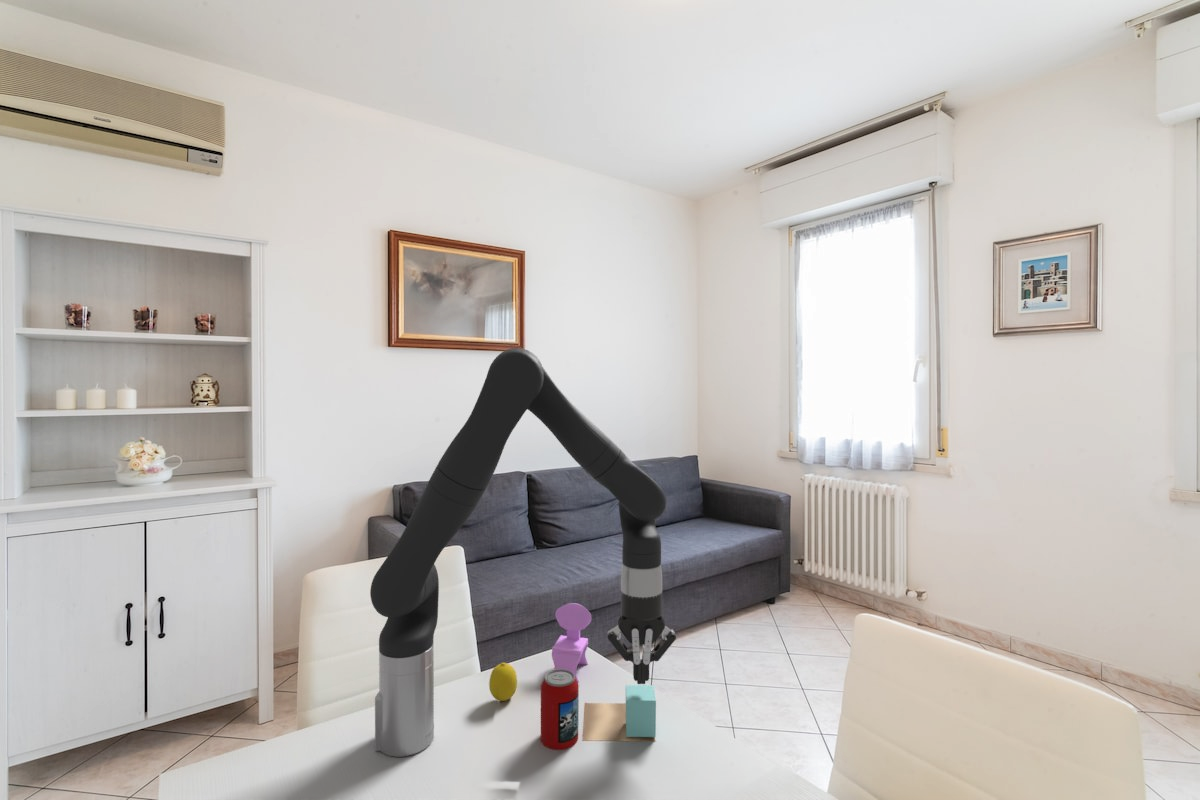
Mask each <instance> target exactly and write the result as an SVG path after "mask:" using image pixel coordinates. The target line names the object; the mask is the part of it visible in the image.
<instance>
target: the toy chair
mask: <svg viewBox="0 0 1200 800" xmlns="http://www.w3.org/2000/svg"><path fill="white" fill-rule="evenodd" d="M555 619H556V621H557V623H558V624H559V627H561V628H562V629H564V630H565V631H566V635H562V634H560V636H559V637H558V639H557V640H556V642H555V643H554V644H553V646H552V648H551V658H552V661H553V665H554V666H553V667H554V670H557V669H565V670H569V671H571V672H572V673H573V674H574V675H575V679H576V680H577V682H578V683H579V682H580V681H579V679H578V676H577V668H578V665H586V666H588V665H589V663H588V660H587V658H586V651H587V649H588V646H589V638H587V637H581V631H583V630H585V629H586V627H588V626H589V624H590V623H591V622H592V614H591V612H590V611H589V610H588V609H587V608H586V607H585V606H583V605H581V604H580V603H576V602H574V603H573V602H571V603H566V604H564V605H561V606H560V607H558V608H557V609H556V611H555Z"/></svg>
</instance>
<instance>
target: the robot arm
mask: <svg viewBox="0 0 1200 800" xmlns="http://www.w3.org/2000/svg"><path fill="white" fill-rule="evenodd" d="M527 410H528V411H529V412H531V413H532V414H533V415H534V416H535V417H536V418H537V419H539V421H541V423H542V424H543V425H544V426H545V427H546V428H547V429H548V430H549V431H550V432H551V434H552V435H553V436H554V437H555V438H556V439H557V441H558V442H559V443H560V445H561V446H562V447H563V448H564V449H565V451H566V452H567V453H568V454H569V455H570V456H571V457H572V459H573V460H574V461H575V462H576V463H577V464H578V465H579V466H580V467H581V468H582V469H583V470H584V471H585V472H586V473H588V474H589V476H591V478H592V479H594V480H595V481H596V482H597V483H598V484H600V485H601V486H603V487H604V488H605V489H607V490H608V491H609V492H610V493H611V494H612V496H614V497H615V498H616V500H618V511H619V520H620V525H621V532H622V546H621V547H622V556H621V557H622V563H621V564H622V565H621V566H622V567H621V574H620V617H619V619H618V621H617V625H616V626H614V627H613V628H612V627H611V628H610V627H609V628H608V629H607V639H608V641H609V642H610V643H611V645H612V646H613V647H614V649H615V650H616V651H617V652H618V654H619V655H620V656H621V657H622V658H623V660H624V661H626V662H628V661H629V662H632V665H633V666H632V669H633V671H632V675H633V677H632V678H633V680H634V681H635V682H636V685H646V682H648V681H649V679H650V664H651V663H652V662H658V661H660V659H661V658H663V656H664V655H665V653H666V652H667V651H668V650H669V648H670V647H671V646H672V644H674V642H675V641H676V639H677V636H676V632H675V630H674V628H669V627H668V626H666V623H665V619H664V617H663V585H664V584H663V571H662V569H663V568H662V541H661V540H662V539H661V536H660V534H659V533H658V532H659V531H657V530H658V529H657V527H656V520H657V519H659V517H661V516H662V514H663V513H664V511H665V509H666V506H667V497H666V494H665V492H664V490H663V488H662V487H661V486H660V484H658V483H657V482H656V481H655V480H654V479H653V478H652V477H650V476H649V475H648V474H647V473H646V472H645V471H643V470H642V469H641V467H639V466H638V465H636V464H635V463H633V462H632V460H630V458H629V457H628V456H627V455H626V454H625V453H624V451H623V450H622V449H621V448H619V446H618V445H617V444H616V443H614V441H613V440H611V439H610V438H609V437H608V436H607V435H606V434H605V433H604V432H603V431H602V430H601V429H600V428H599V427H598V426H597V425H596V424H595V423H593V422H592V421H591V420H590V419H589V418H588V417H587V416H586V415H585V414H584V413H583V412H582V411H580V409H579V408H577V407H576V405H574V404H573V403H572V402H571V401H570V400H569V399H568V397H566V395H565V394H564V393H563V392H562V391H561V389H560V388H559V387H558V386H557V385H556V384H555V382H554V380H552V378H551V377H550V375H549V374H548V372H547V371H546V370H545V368H544V366H543V364H542V363H541V361H540V359H539V358H538V356H537V355H535V354H534V353H533V352H531V351H529V349H526V348H525V349H524V348H522V347H521V348H520V347H514V348H513V347H512V348H509V349H508V348H507V349H506V350H503V351H502V352H501V353H499V354H498V355H497V356H496V357H495V358H494V359H493V361H492V363H491V364H490V366H489V368H488V371H487V372H486V378H485V380H484V383H483V385H482V388H481V390H480V392H479V394H478V397H477V400H476V402H475V405H474V406H473V409H472V411H471V412H470V415H469V417H468V418H467V420H466V422H465V423H464V425H463V426H462V428H461V429H460V430H459V432H458V433H457V434H456V435H455V437H454V438H453V439H452V441H451V442H450V444H449V445H448V447H447V448H446V449H445V451H444V453H443V455H442V456H441V457H440V459H439V461H438V464H436V466H435V469H434V471H433V473H432V474H431V476H430V478H429V479H428V482H427V483H426V484H427V485H426V487H424V490H423V493H422V494H421V496H420V498H419V500H418V502H417V504H416V505H415V508H414V510H413V511H412V514H411V516H410V518H409V519H408V522H407V524H406V526H405V528H404V531H403V532H402V534H401V535H400V537H399V539H398V541H397V542H396V544H394V545H395V546H394V547H393V548H392V550H391V551H390V553H388V556H386V559H384V561H383V562H382V564H381V565H380V567H379V568H378V570H377V571H376V573H375V574H374V576H373V578H372V581H371V584H370V591H369V592H370V600H371V604H372V607H373V608H374V609H375V611H376V612H377V613H378V614H379V615H380V616H382V617H385V618H387V619H386V621H385V624H384V626H383V628H382V629H381V631H380V634H379V637H378V660H379V661H378V662H379V663H378V665H379V666H378V673H379V677H378V679H379V682H378V683H379V684H378V685H379V688H378V689H379V690H378V692H377V694H376V695H375V696H374V751H375V752H381V753H383V754H385V755H387V756H389V757H395V758H396V757H399V758H402V757H408V756H413V755H415V754H418V753H420V752H422V751H423V750H425V749H426V748H428V747H429V746H430V745H431V744H432V742H433V741H434V738H435V737H434V735H435V734H434V733H435V732H434V731H435V721H434V719H435V717H434V716H435V715H434V714H435V713H434V707H435V705H434V703H435V702H434V700H435V699H434V698H435V696H434V695H435V693H434V690H435V688H434V684H435V682H434V680H435V679H434V678H435V677H434V674H435V673H434V672H435V671H434V663H435V662H434V660H435V659H434V656H435V655H434V653H435V651H434V635H435V632H436V629H437V625H438V617H439V592H440V589H439V588H440V586H439V585H440V584H439V583H440V582H439V580H440V579H439V574H438V570H437V567H436V565H435V563H436V561H437V559H438V558H439V556H440V555H441V552H442V551H443V550H444V549H445V548H446V546H447V545H448V544H449V542H450V541H451V540H452V539H453V538H454V537H455V536H456V534H458V532H459V531H460V529H461V528H462V527H463V526H464V524H465V523H466V522H467V520H468V519H469V518H470V517H471V515H472V514H473V513H474V510H475V509H476V507H477V506H478V504H479V502H480V501H481V499H482V498H483V495H484V493H485V492H486V490H487V487H488V486H489V484H490V482H491V479H492V478H493V476H494V473H495V471H496V469H497V467H498V464H499V462H500V459H501V456H502V453H503V451H504V449H505V446H506V443H507V441H508V439H509V437H510V436H511V434H512V432H513V431H514V429H515V427H516V426H517V424H518V423H519V422H520V420H521V419H522V417H523V416H524V414H526V411H527ZM622 634H623V636H624V637H625V639H626V640H627V641H628V642H629V644H631V645H632V650H630V649H629V647H628V646H627V645H626V644H625V642H624V641H623V640H622ZM660 635H661V639H660V640H658V643H657V644H656V645H655V646H654V648H653V649H652V644H654V643H655V642H656V641H657V639H658V638H659V636H660ZM641 645H642V654H641V653H640V652H641V651H640V646H641Z"/></svg>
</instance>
